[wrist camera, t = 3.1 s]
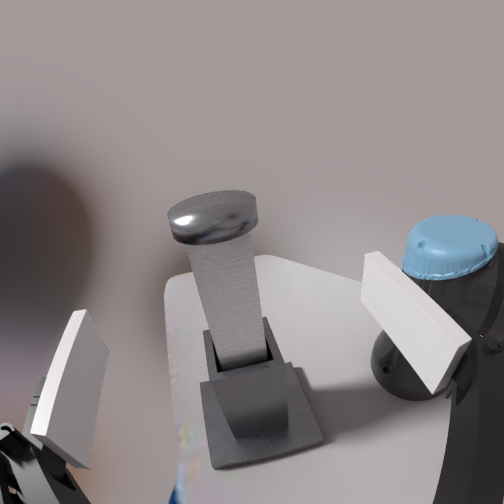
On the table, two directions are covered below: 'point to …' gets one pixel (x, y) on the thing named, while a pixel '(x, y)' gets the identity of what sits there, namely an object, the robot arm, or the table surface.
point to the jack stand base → (255, 409)
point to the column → (224, 271)
